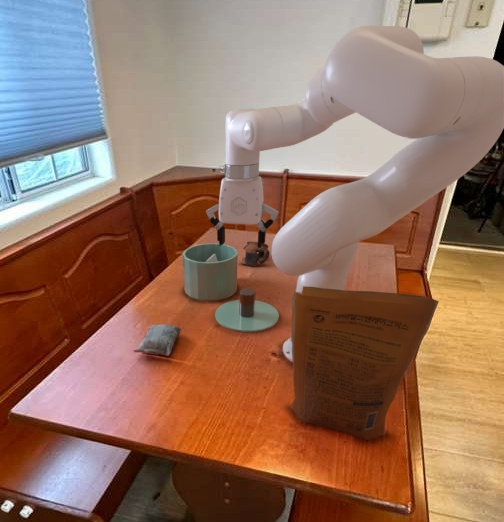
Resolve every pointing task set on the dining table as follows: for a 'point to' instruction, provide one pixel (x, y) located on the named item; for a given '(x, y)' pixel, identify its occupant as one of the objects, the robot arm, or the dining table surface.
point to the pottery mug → (255, 253)
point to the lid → (246, 314)
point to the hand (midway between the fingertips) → (240, 244)
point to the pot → (210, 271)
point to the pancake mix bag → (353, 355)
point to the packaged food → (159, 340)
